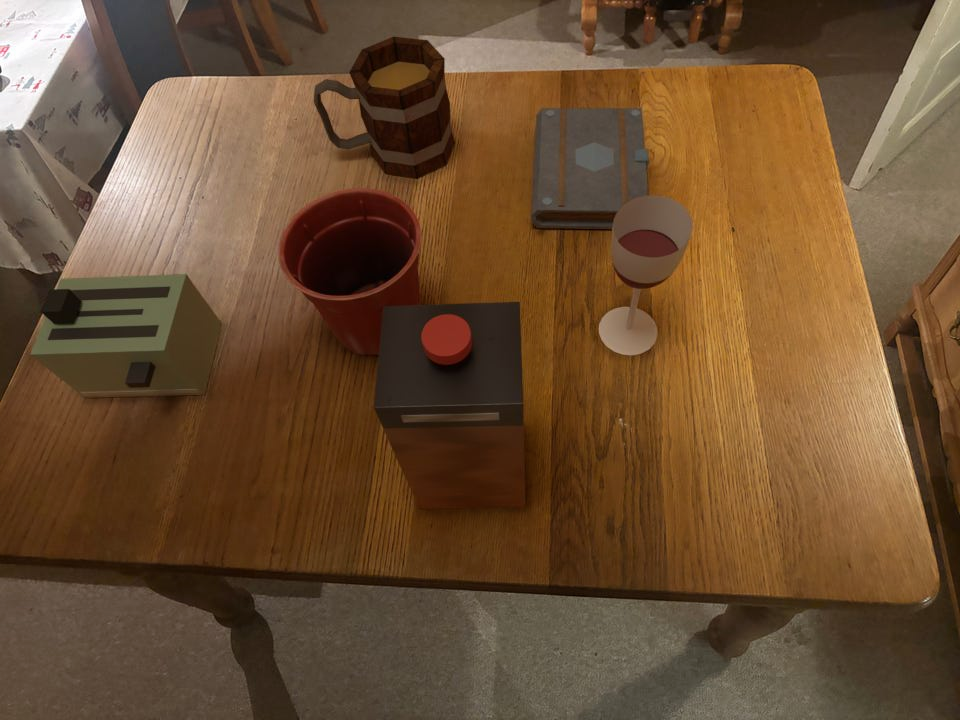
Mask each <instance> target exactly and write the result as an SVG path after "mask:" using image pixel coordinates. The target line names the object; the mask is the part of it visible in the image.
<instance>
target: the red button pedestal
mask: <svg viewBox="0 0 960 720" xmlns="http://www.w3.org/2000/svg"><path fill="white" fill-rule="evenodd" d="M445 314H451V315H456V316H459V317H461V318H462V319H464V320H465V321H466V322H467V324H468V325H469V327H470V330H471V336H472V348H471V350H470V352H469V354H468V355H467V356H466V357H465V358H464V359H463V360H461V361H460V362H457V363H455V364H450V365H443V364H438V363H436V362H434V361H432V360H431V359H429V358H428V356H427V355H426V353H425V351H424V348H423V344H422V339H421V334H422V330H423V328H424V326H425V325H426V324H427V323H428V322H429V321H430V320H431V319H433V318H434V317H437V316H440V315H445ZM521 322H522V321H521V302H520V301H501V302H499V301H497V302H495V301H494V302H470V303H469V302H468V303H439V304H438V303H437V304H421V305H407V306H384V307H383V315H382V326H381V337H380V347H379V355H378V358H377V359H378V360H377V370H376V371H377V372H376V379H375V393H374V402H373V409H374V412H375V413H376V416H377V417H378V421H379V422H380V423H379V424H381V427H382V429H383V432H384V434H385V436H386V438H387V440H388V442H389V445H390V447H391V449H392V451H393V454H394V455H395V459H396V460H397V463H398V465H399V467H400V470H401V471H402V474H403V476H404V478H405V480H406V482H407V484H408V486H409V489H410V491H411V493H412V496H413V497H414V500H415V502H416V504H417V506H418V508H419V510H441V509H443V510H446V509H451V510H452V509H498V508H499V509H501V508H503V509H505V508H509V509H510V508H512V509H513V508H525V507H526V491H525V490H526V489H525V488H526V487H525V486H526V485H525V484H526V482H525V425H524V424H525V422H524V421H525V419H524V417H525V416H524V384H523V383H524V380H523V379H524V378H523V351H522V350H523V348H522V323H521Z"/></svg>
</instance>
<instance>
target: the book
mask: <svg viewBox="0 0 960 720" xmlns="http://www.w3.org/2000/svg"><path fill="white" fill-rule="evenodd" d="M649 162H650V157H649V149H648V148H646V147H645V131H644V117H643V108H641V107H607V108H606V107H603V108H602V107H596V108H595V107H593V108H592V107H590V108H589V107H583V108H582V107H580V108H579V107H578V108H577V107H572V108H571V107H567V108H564V107H563V108H562V107H561V108H560V107H558V108H556V107H555V108H553V107H552V108H551V107H548V108H546V107H545V108H543V107H542V108H541V109H540V110H539V111H538V112H537V114H536V115H535V134H534V153H533V169H532V171H533V172H532V191H531V212H530V217H531V218H530V221H531V222H532V224H533V225H534V226H535V227H536V228H537V229H578V230H580V229H581V230H582V229H583V230H585V229H586V230H593V229H594V230H612V228H613V222H614V218H615V216H616V214H617V212H618V211H619V209H620V208H621V207H622V206H623V205H625V204H626V203H627V202H629V201H631V200H633V199H635V198H638V197H642V196H648V195H649V191H648V174H647V173H648V167H649Z"/></svg>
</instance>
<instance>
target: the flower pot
mask: <svg viewBox="0 0 960 720" xmlns="http://www.w3.org/2000/svg"><path fill="white" fill-rule="evenodd" d="M421 243H422V229H421V224H420V221H419V218H418V216H417V214H416V213H415V211H414V210H413V209H412V208H411V206H410V205H409V204H407V203H406V201H405V200H402V198H400V197H398V196H397V195H395V194H393V193H390V192H387V191H384V190H380V189H377V188H369V187H354V188H352V187H351V188H346V189H345V188H344V189H340V190H336V191H333V192H330V193H326V194H324V195H323V196H320V197H318V198H316V199H314V200H312V201H311V202H310V203H308V204H306V205H305V206H304V207H302V208H301V209H300V210H299V211H298V212H297V213H296V214H295V215H294V216H293V217H292V218H291V219H290V221H288V223H287V225H286V226H285V228H284V230H283V232H282V234H281V236H280V239H279V243H278V247H277V249H278V251H277V256H278V257H277V258H278V263H279V267H280V270H281V272H282V273H283V275H284V277H285V278H286V279H287V280H288V281H289V283H290V284H291V285H292V286H294V288H295V289H297V290H298V291H301V293H302V295H303V296H304V297H305V298H306V299H307V300H308V301H309V302H310V303H312V304H313V306H314V307H315V308H316V310H317V311H318V313H319V315H320V316H321V317H322V319H323V320H324V322H325V323H326V324H327V326H328V327H329V329H330V331H331V332H332V333H333V335H334V336H335V338H336V339H337V340H338V342H339V343H340V344H341V345H342V346H343V347H344V348H345V349H347V350H348V351H350V352H352V353H354V354H357V355H359V356H367V355H368V356H369V355H372V356H373V355H375V356H379V347H380V337H381V326H382V315H383V307H384V306H407V305H422V295H421V288H420V287H421V286H420V277H419V268H418V267H419V264H420V263H419V262H420V249H421Z"/></svg>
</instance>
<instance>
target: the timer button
mask: <svg viewBox="0 0 960 720" xmlns="http://www.w3.org/2000/svg"><path fill="white" fill-rule="evenodd" d="M421 339H422V344H423V348H424V351H425V353H426V355H427V356H428V358H429V359H431V360H432V361H434V362H436V363H438V364H443V365H450V364H455V363H457V362H460V361H461V360H463V359H464V358H465V357H466V356H467V355H468V354H469V352H470V350H471V348H472V336H471V330H470V327H469V325H468V324H467V322H466V321H465V320H464V319H462V318H461V317H459V316H456V315H451V314H445V315H440V316H437V317H434V318H433V319H431V320H430V321H429V322H428V323H427V324H426V325H425V326H424V328H423V330H422V334H421Z"/></svg>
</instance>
